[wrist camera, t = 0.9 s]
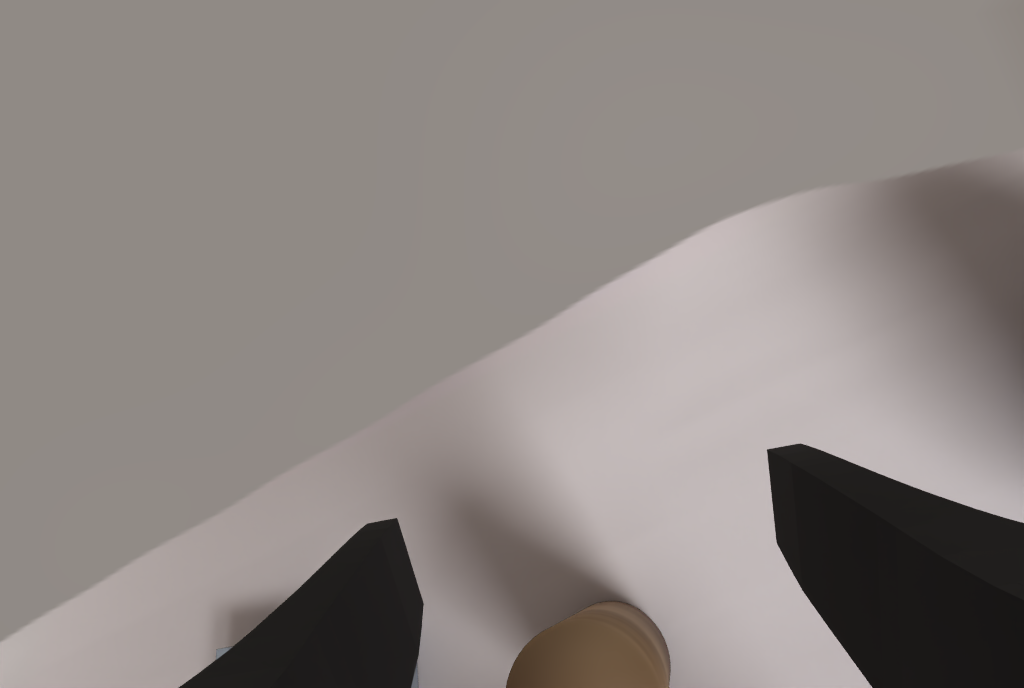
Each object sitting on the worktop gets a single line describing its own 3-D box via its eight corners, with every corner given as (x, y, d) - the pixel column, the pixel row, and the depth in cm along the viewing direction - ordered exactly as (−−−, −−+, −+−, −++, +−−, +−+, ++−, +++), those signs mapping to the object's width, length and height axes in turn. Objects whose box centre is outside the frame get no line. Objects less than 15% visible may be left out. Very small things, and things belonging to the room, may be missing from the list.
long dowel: (681, 717, 20) (681, 806, 13) (571, 725, 21) (513, 813, 14) (657, 595, 22) (645, 613, 15) (555, 607, 23) (495, 630, 15)
